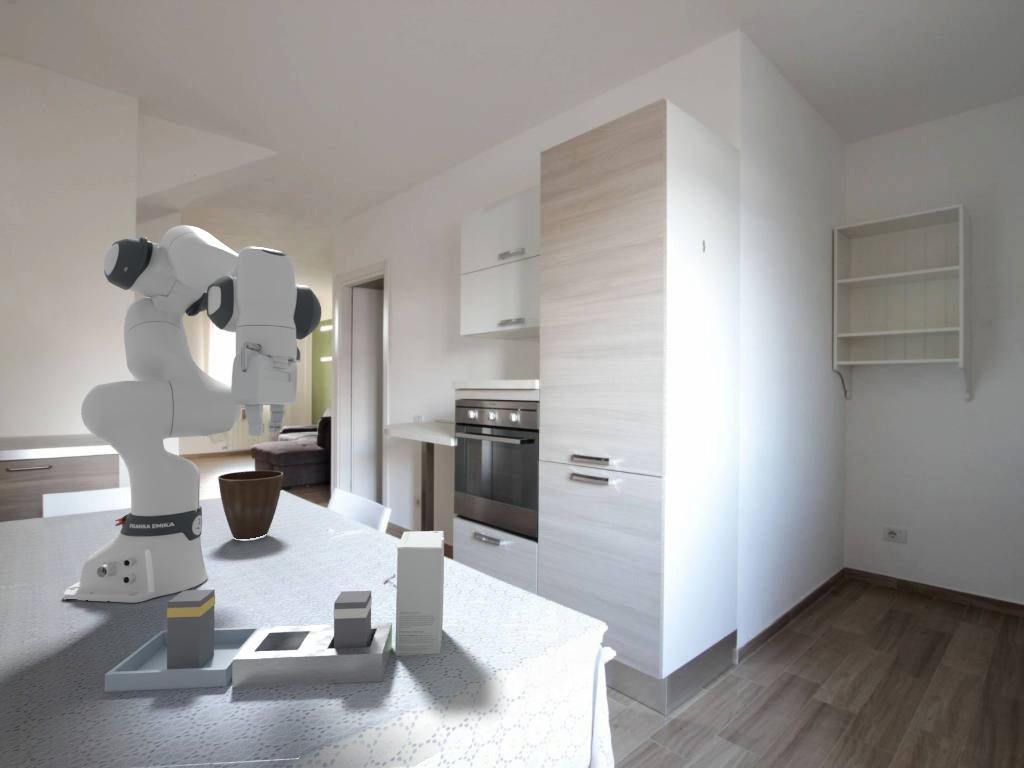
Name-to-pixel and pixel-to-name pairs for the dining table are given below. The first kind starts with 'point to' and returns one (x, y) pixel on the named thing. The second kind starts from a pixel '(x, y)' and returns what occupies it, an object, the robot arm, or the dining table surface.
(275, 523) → the dining table surface
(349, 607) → the twin plug
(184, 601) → the plug
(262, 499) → the plant pot
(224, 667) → the tray
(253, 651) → the double slot holder
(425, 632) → the skincare box
